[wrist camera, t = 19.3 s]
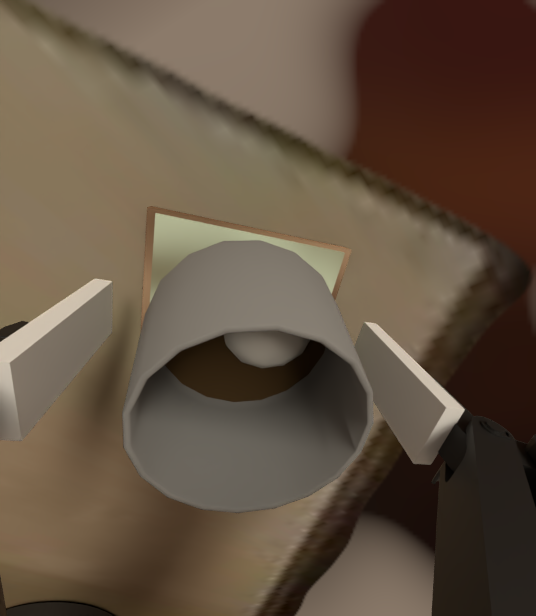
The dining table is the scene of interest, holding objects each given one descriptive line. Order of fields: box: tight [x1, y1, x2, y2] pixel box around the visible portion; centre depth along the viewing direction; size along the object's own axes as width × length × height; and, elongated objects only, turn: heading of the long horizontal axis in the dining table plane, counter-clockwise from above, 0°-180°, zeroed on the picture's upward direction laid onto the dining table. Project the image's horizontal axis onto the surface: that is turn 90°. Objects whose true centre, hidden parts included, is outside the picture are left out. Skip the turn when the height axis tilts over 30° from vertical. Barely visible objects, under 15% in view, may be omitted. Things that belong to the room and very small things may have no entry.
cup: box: [122, 240, 373, 513], centre depth 13 cm, size 10×9×10 cm
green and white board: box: [141, 206, 352, 329], centre depth 20 cm, size 18×12×1 cm, turn 168°
